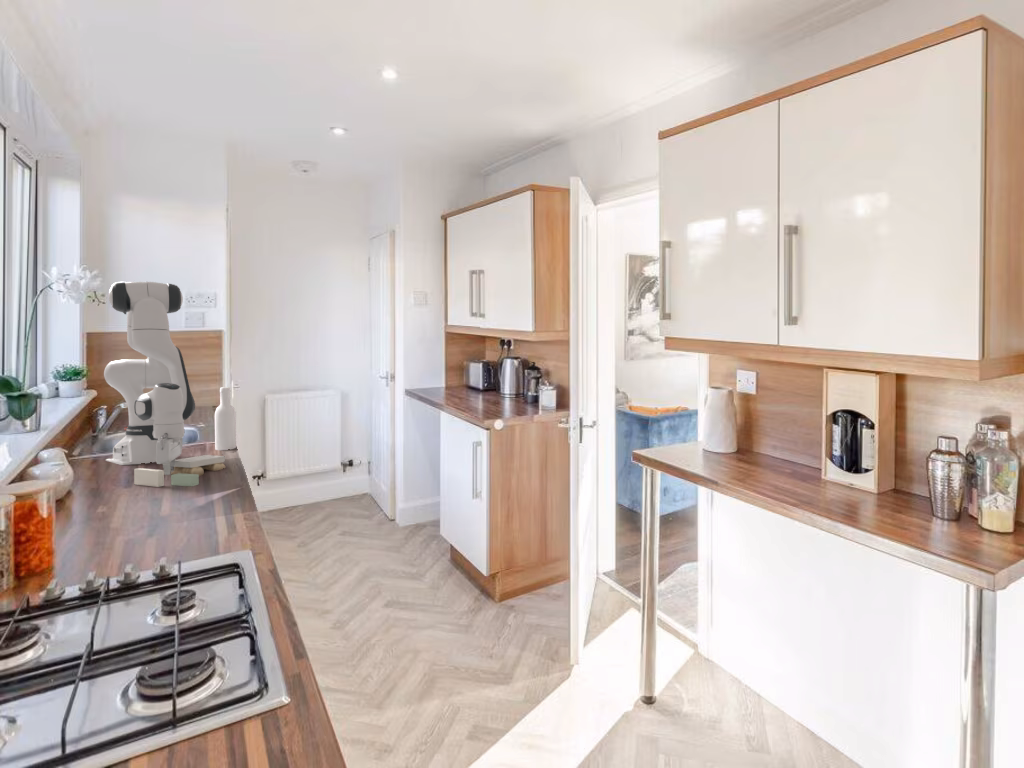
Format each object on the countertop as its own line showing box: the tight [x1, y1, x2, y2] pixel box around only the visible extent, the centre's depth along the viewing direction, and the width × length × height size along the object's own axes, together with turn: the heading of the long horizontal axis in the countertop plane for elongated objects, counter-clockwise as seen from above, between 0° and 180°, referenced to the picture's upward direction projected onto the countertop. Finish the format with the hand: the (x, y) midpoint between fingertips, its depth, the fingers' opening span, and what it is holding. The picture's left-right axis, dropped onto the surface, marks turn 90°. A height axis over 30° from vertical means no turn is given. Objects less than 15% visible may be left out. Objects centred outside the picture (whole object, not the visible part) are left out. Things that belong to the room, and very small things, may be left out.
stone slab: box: [175, 454, 226, 468], centre depth 206 cm, size 9×14×2 cm, turn 158°
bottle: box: [214, 386, 237, 451], centre depth 240 cm, size 8×8×30 cm
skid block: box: [170, 473, 200, 487], centre depth 189 cm, size 8×3×4 cm, turn 75°
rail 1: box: [170, 467, 205, 477], centre depth 201 cm, size 12×4×4 cm, turn 68°
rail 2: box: [198, 462, 226, 472], centre depth 210 cm, size 12×4×4 cm, turn 68°
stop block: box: [133, 467, 165, 488], centre depth 189 cm, size 11×2×5 cm, turn 68°
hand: (169, 473), depth 196 cm, fingers open, 4 cm apart
